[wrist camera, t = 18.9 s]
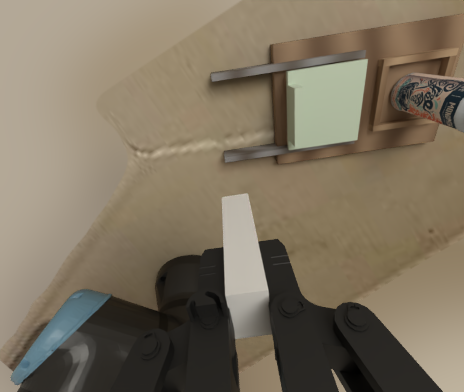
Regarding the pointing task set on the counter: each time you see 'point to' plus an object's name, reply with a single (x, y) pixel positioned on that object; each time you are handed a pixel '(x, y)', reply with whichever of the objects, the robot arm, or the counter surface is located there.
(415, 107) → the beer can
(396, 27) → the housing
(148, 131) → the counter surface
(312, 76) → the lid
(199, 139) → the counter surface
